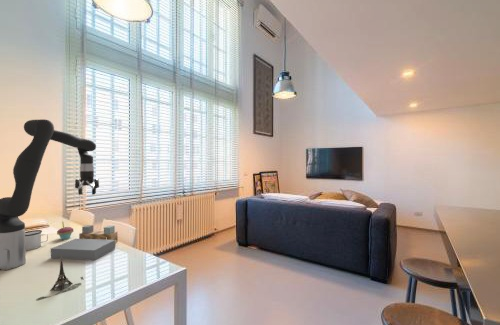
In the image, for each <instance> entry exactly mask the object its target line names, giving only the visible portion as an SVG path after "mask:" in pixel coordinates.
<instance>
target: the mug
mask: <svg viewBox="0 0 500 325" xmlns="http://www.w3.org/2000/svg"><path fill="white" fill-rule="evenodd" d="M42 232H43V230H42V229H41V230H40V229H36V230H35V229H34V230H29V231H25V251H32V250H36V249H38V248H40V247H42V243H46V242H48V240H49V235H48V233H42ZM42 236H46V240H44V241H43V240H42Z"/></svg>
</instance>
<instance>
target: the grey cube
mask: <svg viewBox="0 0 500 325" xmlns="http://www.w3.org/2000/svg"><path fill="white" fill-rule="evenodd" d="M81 227H82V229H81V230H82V231H81V233H85V234H89V233H91V232H93V231H94V225H93V224H91V225H90V224H87V225H84V226H81Z"/></svg>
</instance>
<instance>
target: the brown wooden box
mask: <svg viewBox="0 0 500 325" xmlns="http://www.w3.org/2000/svg"><path fill="white" fill-rule="evenodd" d="M78 235H79V236H78V239H103V240H116V243H118V231H115V232H114V233H112V234H104V230H102V231H101V230H98V231H97V230H93V232H91V233H89V234H85V233H82V232H81V233H80V232H79V234H78Z"/></svg>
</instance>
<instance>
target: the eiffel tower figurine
mask: <svg viewBox="0 0 500 325" xmlns="http://www.w3.org/2000/svg"><path fill="white" fill-rule="evenodd" d="M59 260H60V261H59V262H60V264H59V265H60V266H59V274H58V277H57V280H56V281H55V283H54V284H53V286H52V288H51V289H50V290H49V291H50V292H57V293H55V294H52V295H49V296H40V297H38V298H36V301H40V300H43V299H46V298H51V297H53V296H57V295H59V294H63V293H66V292H67V293H68V292H70V291H73V290H75V289H77V288H79V287H80V286H82V283H81V282H78V283H75V284H74V283H73V282H72V281H71V280H70V279H69V278H68V277H67V276H66V273H65V271H64V264H63V260H64V259H63V258H59ZM79 279H81V281H83V280H84V277H83V276H80V278H79Z"/></svg>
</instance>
